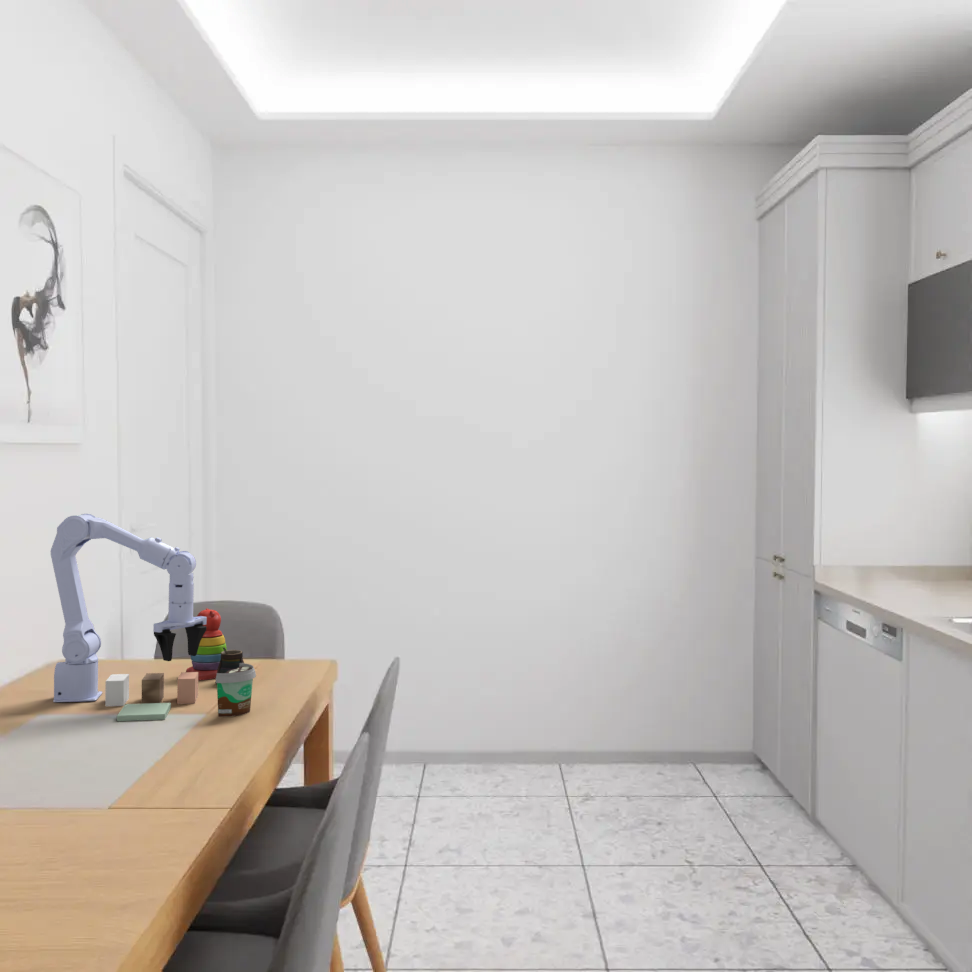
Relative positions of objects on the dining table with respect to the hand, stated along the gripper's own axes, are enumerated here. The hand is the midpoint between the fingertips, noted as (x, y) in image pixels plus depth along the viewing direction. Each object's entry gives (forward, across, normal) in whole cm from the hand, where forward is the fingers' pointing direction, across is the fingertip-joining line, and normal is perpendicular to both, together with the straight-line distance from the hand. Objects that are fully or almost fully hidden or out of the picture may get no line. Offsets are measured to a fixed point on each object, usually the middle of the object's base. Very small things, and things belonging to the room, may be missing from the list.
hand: (180, 658), depth 225 cm
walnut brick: (+10, -6, +2) cm, 12 cm away
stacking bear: (+10, +20, +12) cm, 26 cm away
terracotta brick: (+10, 0, -4) cm, 10 cm away
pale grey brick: (+10, -11, +8) cm, 17 cm away
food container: (+10, -1, -22) cm, 24 cm away
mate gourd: (+10, +18, +1) cm, 21 cm away
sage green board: (+10, -15, -6) cm, 19 cm away
